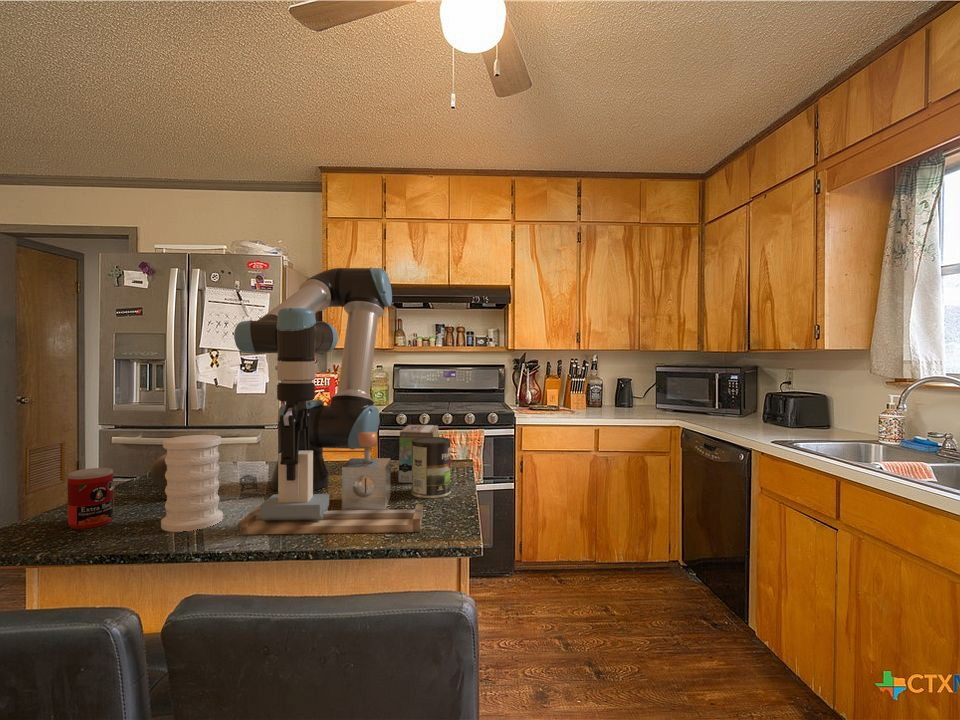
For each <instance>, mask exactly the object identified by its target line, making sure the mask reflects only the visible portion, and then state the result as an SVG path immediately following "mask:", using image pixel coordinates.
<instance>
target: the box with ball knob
mask: <svg viewBox="0 0 960 720" xmlns="http://www.w3.org/2000/svg"><path fill="white" fill-rule="evenodd" d="M391 460H392V459H391V458H390V457H387V458H385V457H384V458H383V457H379V458H375V457H373V458H371V457H370V464H364V458H361V457H359V458H358V457H357V458H355V457H354V458H349V460H348V461H346V463H345V464H344V465H342V467H341V511H343V510H387V509H386V508H387V506H388V504H389V502H390V499H391V464H392V463H391Z"/></svg>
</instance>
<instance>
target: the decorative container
mask: <svg viewBox="0 0 960 720" xmlns="http://www.w3.org/2000/svg"><path fill="white" fill-rule="evenodd" d="M221 444H222V436H221V435H215V434H214V435H213V434H193V435H183V436H181V435H180V436H174V437H170V438H166V439H163V440H162V448H164V450H166V454H167V456H166V458H165V462H166V465H167V471H166V473H165V478H166V480H167V486H166V488H165V493H166V495H167V499H166V501H165V504H164V509H165V510H166V516H164V517H163V518H161V521H160V528H161V529H162V530H163V531H165V532H171V533H184V532H183V531H187V532H193V530H194V531H199V529H200V530H204V529H207V527H208V528H211V527H213V525H214V526H215V524H216V525H218V524H220V523H221V522H222V521H223V520H224V512H223V510H220V509H219V507H218V506H219V503H220V495H219V489H220V481H219V480H218V479H219V478H218V475H219V473H220V467H219V465H218V463H219V462H218V461H219V459H220V453H219V451H218V448H219V447H218V446H220V445H221ZM222 519H223V520H222ZM220 521H221V522H220ZM219 522H220V523H219ZM217 523H218V524H217ZM210 526H211V527H210ZM203 528H204V529H203ZM197 529H198V530H197Z"/></svg>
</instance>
